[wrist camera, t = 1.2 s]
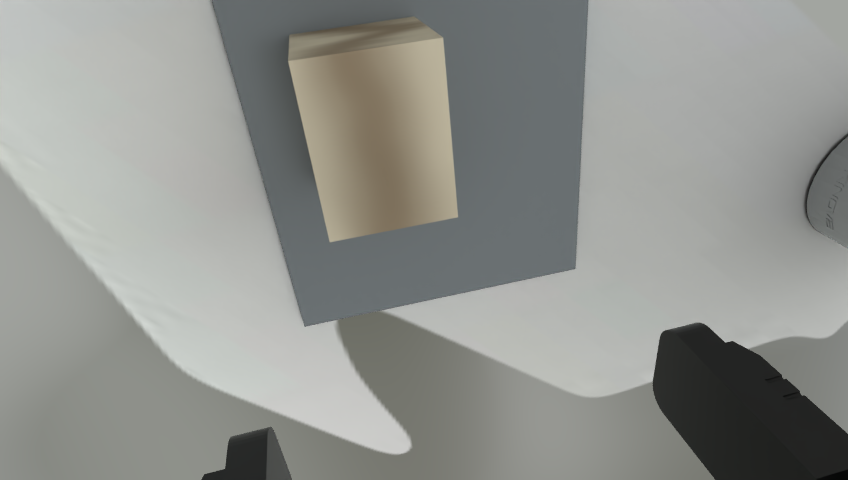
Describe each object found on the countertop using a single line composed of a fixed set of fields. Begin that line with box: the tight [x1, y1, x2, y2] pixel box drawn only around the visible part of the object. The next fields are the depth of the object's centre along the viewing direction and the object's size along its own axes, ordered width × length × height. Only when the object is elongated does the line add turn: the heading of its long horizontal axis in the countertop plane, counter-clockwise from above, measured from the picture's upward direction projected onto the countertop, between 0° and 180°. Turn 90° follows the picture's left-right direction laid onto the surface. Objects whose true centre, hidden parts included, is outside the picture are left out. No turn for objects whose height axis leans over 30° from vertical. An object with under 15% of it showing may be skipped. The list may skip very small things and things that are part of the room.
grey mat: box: [212, 0, 588, 326], centre depth 30 cm, size 18×19×1 cm
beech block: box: [288, 17, 458, 242], centre depth 25 cm, size 6×8×6 cm
